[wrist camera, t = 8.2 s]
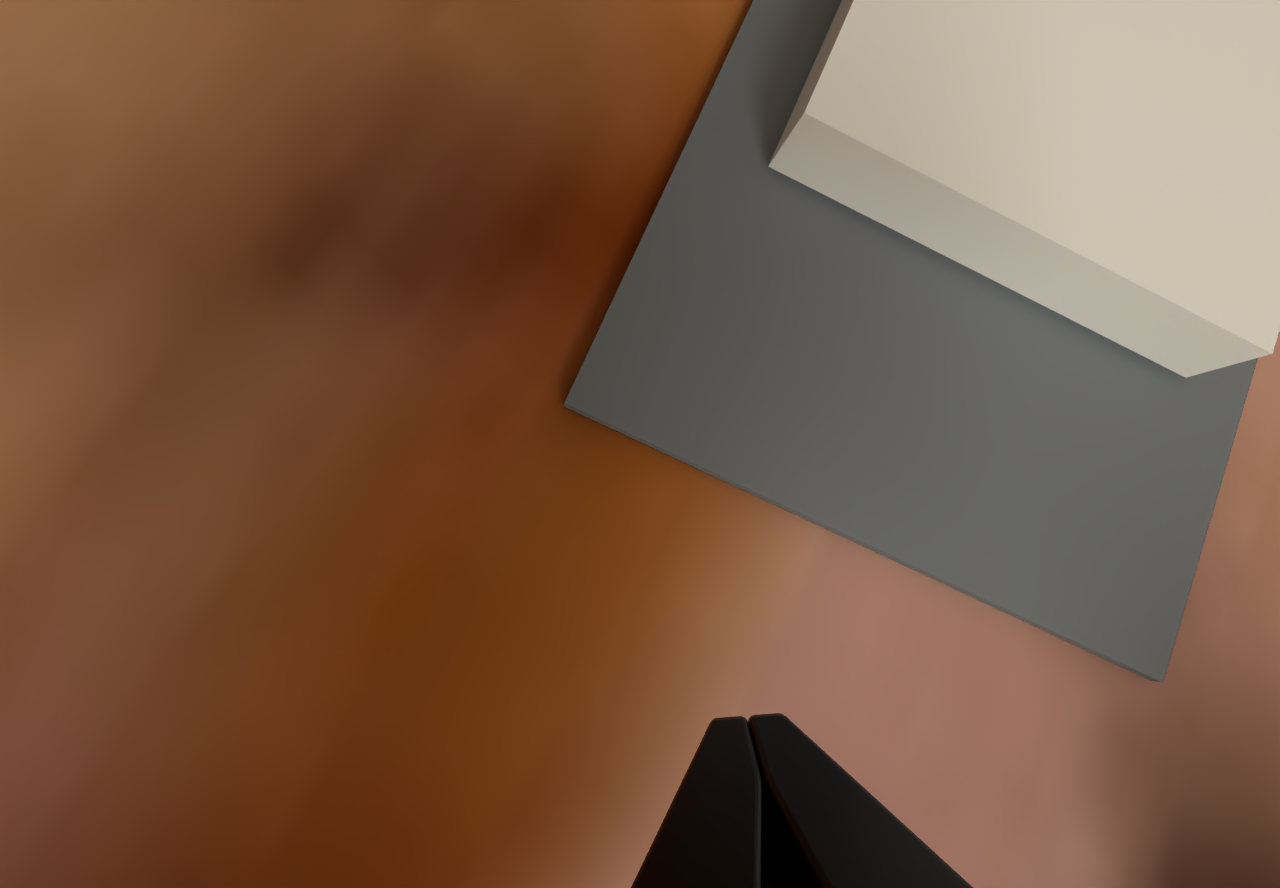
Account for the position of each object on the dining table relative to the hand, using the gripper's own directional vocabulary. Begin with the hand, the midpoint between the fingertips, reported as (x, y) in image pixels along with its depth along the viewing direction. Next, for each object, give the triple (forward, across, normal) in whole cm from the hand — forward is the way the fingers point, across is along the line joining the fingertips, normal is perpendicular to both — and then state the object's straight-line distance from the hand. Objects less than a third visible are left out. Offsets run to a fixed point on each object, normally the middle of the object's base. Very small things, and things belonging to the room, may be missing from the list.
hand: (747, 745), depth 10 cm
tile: (+12, +8, +2) cm, 15 cm away
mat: (+16, +9, +3) cm, 18 cm away
